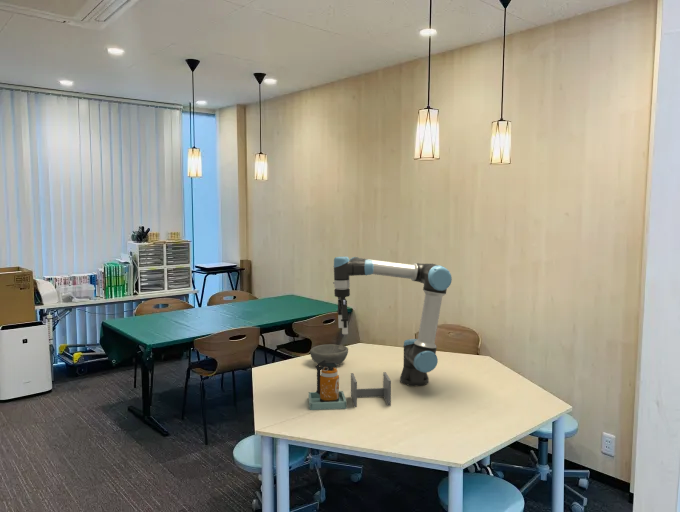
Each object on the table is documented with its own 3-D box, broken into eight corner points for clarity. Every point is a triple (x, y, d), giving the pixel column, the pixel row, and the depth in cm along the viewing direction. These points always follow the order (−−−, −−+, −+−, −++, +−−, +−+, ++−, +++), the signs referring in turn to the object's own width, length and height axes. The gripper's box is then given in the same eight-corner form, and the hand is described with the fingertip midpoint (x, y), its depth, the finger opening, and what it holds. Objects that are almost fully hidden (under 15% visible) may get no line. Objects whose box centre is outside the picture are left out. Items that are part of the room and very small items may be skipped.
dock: (385, 395, 264) (385, 372, 263) (390, 405, 250) (391, 380, 249) (350, 396, 262) (350, 373, 261) (354, 407, 249) (354, 382, 247)
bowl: (314, 358, 329) (314, 342, 328) (350, 359, 326) (350, 343, 325) (306, 369, 307) (306, 352, 306) (345, 371, 303) (345, 354, 302)
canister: (336, 406, 248) (336, 364, 246) (313, 404, 250) (313, 362, 249) (340, 399, 257) (340, 359, 255) (318, 397, 259) (318, 357, 257)
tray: (343, 397, 262) (343, 391, 261) (346, 408, 247) (346, 402, 246) (308, 398, 260) (308, 392, 260) (310, 409, 245) (309, 403, 245)
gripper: (331, 284, 272) (332, 325, 274) (337, 292, 247) (338, 337, 249) (345, 284, 273) (346, 324, 275) (353, 291, 248) (354, 336, 250)
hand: (343, 330), depth 262 cm, fingers open, 13 cm apart
